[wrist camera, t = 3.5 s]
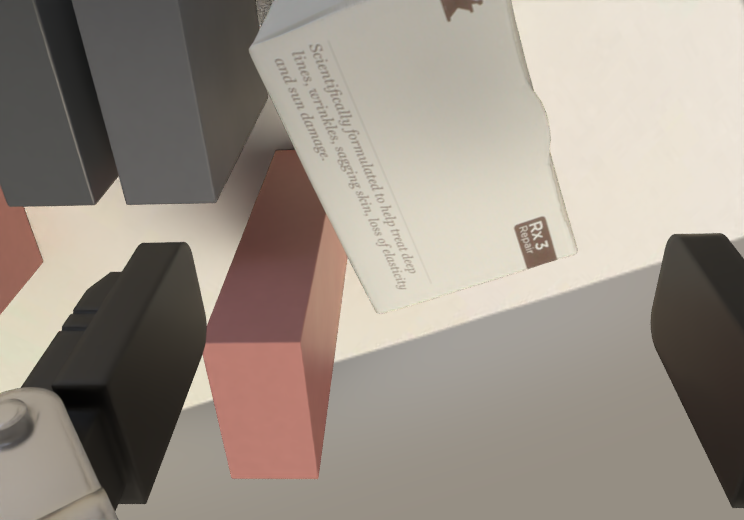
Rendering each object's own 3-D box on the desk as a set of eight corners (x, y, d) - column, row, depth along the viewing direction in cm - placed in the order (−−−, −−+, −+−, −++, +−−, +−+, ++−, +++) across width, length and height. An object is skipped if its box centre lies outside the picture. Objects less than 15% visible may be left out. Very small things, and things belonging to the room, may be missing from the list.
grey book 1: (71, -68, 27) (-78, -17, 19) (145, -71, 27) (28, -22, 19) (115, 102, 31) (7, 208, 22) (180, 100, 31) (96, 206, 22)
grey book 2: (170, -73, 27) (63, -23, 18) (245, -76, 27) (172, -28, 18) (202, 99, 31) (126, 205, 22) (268, 98, 30) (216, 203, 22)
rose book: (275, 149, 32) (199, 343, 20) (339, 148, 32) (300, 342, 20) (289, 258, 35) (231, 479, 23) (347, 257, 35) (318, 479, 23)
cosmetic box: (304, -68, 27) (217, 30, 14) (451, -132, 25) (498, -84, 13) (380, 123, 31) (364, 328, 18) (510, 77, 30) (588, 265, 17)
